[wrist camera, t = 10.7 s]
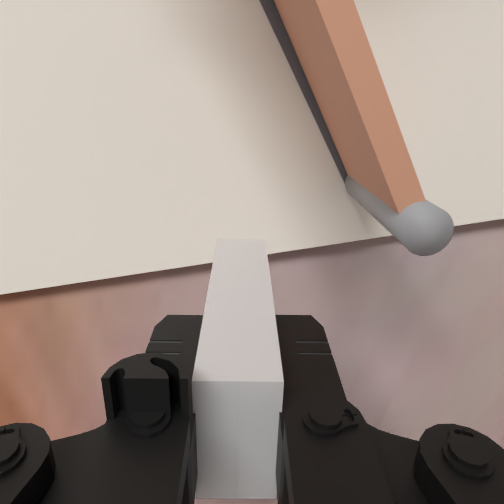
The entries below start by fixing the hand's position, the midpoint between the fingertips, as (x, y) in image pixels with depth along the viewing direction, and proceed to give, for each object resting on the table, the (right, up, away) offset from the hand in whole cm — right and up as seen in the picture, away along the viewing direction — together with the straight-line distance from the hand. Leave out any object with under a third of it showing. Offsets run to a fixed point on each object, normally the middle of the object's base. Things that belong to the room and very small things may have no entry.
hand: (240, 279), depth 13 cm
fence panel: (+2, +9, +2) cm, 9 cm away
